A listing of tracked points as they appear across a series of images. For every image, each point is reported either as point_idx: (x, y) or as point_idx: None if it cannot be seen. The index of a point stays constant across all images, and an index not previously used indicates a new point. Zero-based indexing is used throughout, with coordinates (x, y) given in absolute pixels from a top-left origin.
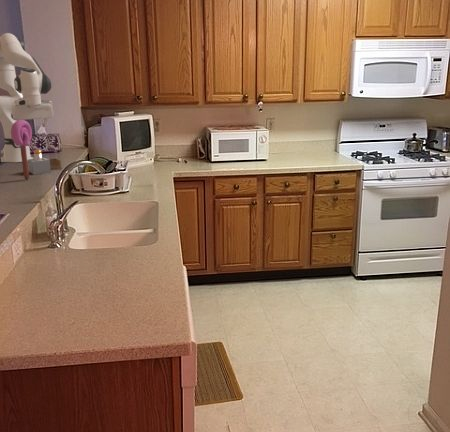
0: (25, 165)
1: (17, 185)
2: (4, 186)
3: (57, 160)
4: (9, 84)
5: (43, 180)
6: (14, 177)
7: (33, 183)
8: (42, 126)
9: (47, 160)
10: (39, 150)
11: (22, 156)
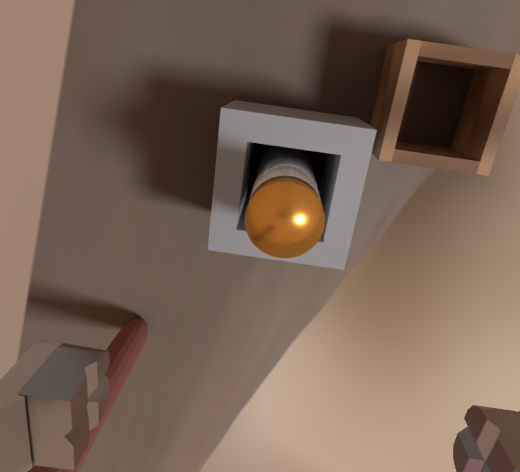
0: None
1: None
2: None
3: (460, 171)
4: None
5: (205, 385)
6: (100, 211)
7: (143, 408)
8: (471, 423)
9: (326, 266)
10: (296, 241)
11: None
